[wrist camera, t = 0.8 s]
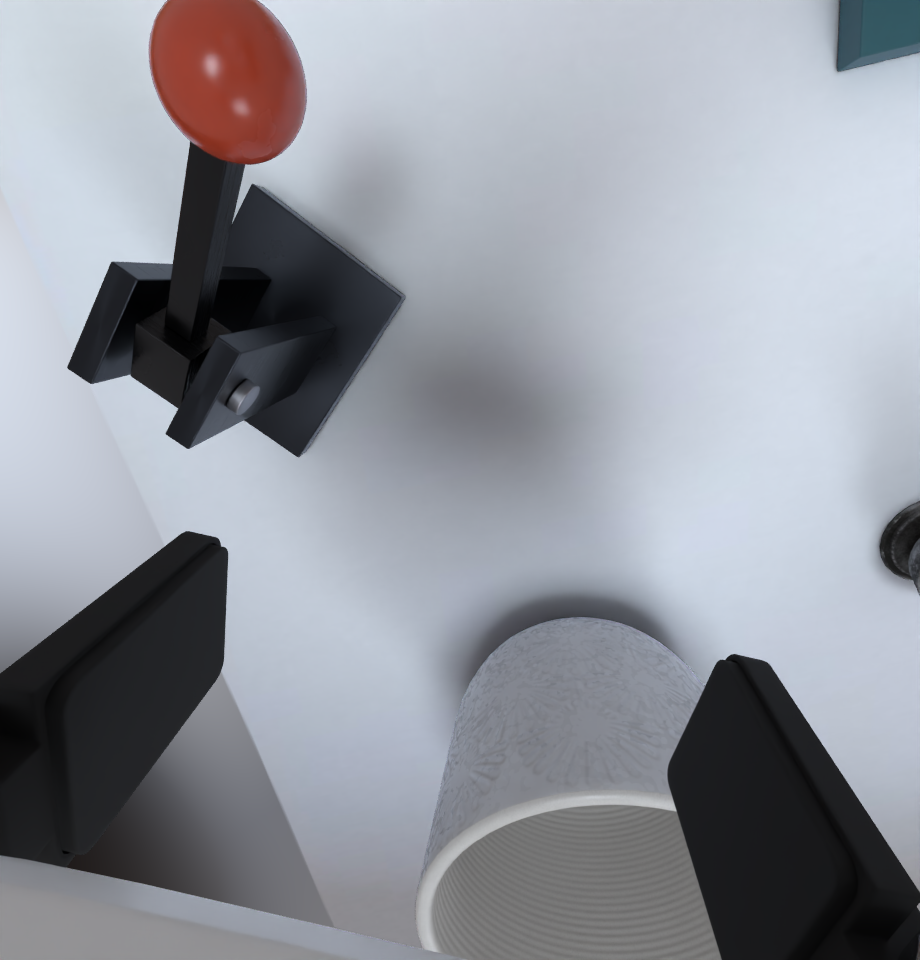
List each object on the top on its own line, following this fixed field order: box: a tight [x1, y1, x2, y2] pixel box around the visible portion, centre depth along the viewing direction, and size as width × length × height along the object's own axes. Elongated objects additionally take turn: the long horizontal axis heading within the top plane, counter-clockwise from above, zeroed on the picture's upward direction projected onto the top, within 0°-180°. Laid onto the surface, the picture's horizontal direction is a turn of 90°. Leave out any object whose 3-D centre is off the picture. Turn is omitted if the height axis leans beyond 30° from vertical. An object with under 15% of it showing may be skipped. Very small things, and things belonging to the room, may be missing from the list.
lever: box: [131, 0, 307, 409], centre depth 17 cm, size 13×4×4 cm, turn 144°
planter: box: [415, 617, 722, 960], centre depth 29 cm, size 17×17×15 cm
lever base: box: [67, 184, 405, 457], centre depth 24 cm, size 11×9×12 cm
